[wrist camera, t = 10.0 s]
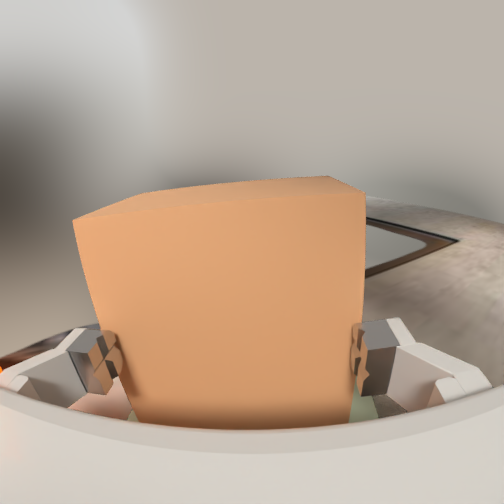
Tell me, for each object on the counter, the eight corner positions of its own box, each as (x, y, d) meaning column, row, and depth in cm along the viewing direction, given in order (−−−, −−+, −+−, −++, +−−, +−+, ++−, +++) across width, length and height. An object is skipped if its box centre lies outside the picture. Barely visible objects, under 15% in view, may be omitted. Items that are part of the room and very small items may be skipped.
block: (346, 436, 11) (365, 192, 8) (145, 434, 12) (72, 220, 9) (328, 356, 17) (328, 176, 14) (176, 361, 18) (141, 193, 15)
